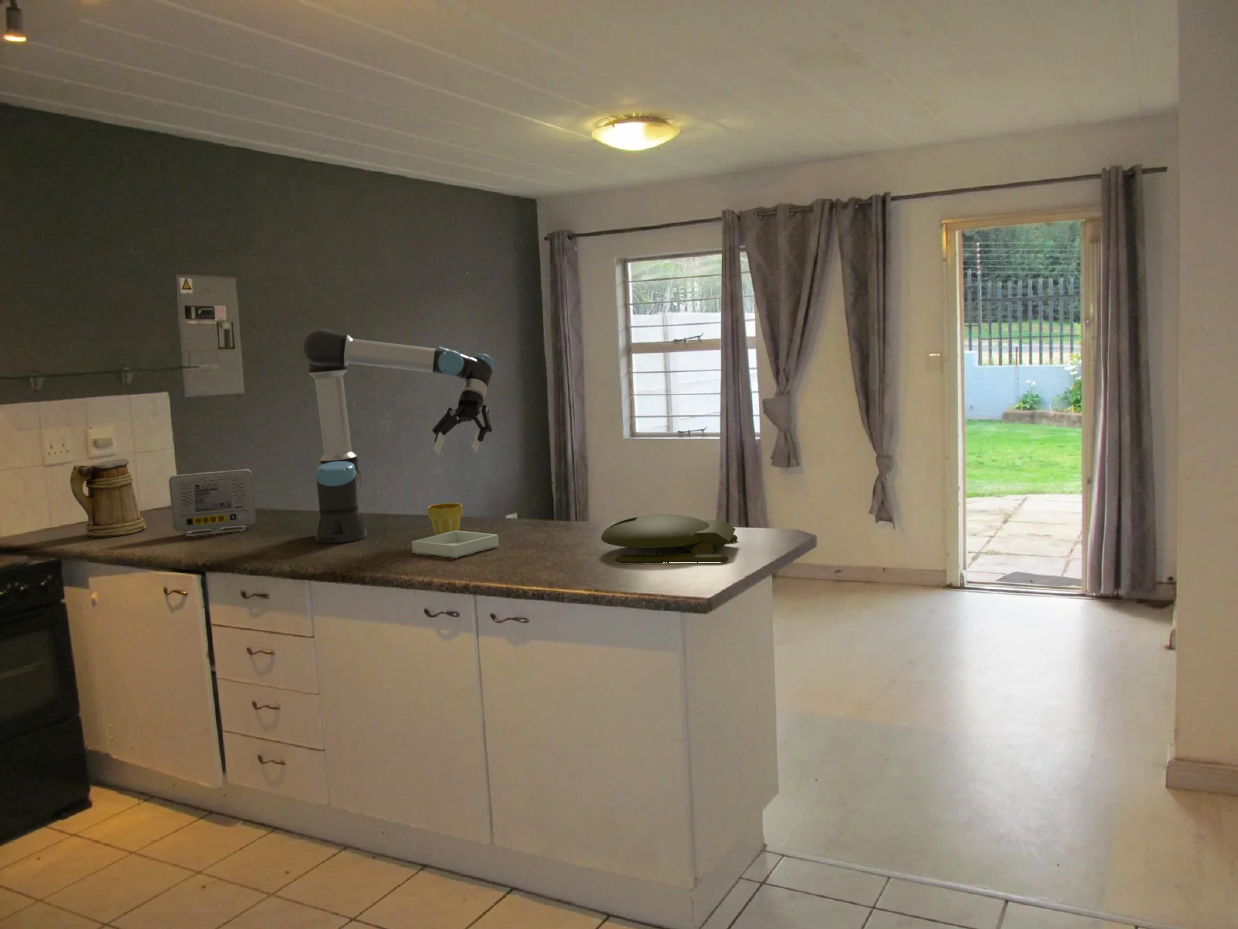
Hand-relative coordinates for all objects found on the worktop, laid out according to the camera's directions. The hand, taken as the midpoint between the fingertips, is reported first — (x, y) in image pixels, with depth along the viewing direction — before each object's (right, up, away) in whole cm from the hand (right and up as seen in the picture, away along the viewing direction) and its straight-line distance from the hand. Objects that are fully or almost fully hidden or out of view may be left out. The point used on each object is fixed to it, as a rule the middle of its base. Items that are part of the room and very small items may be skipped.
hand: (455, 450), depth 305 cm
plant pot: (-2, -26, -5) cm, 27 cm away
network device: (-84, -27, +27) cm, 92 cm away
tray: (+4, -28, -25) cm, 38 cm away
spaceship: (+63, -28, -41) cm, 81 cm away
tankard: (-123, -28, +33) cm, 130 cm away
